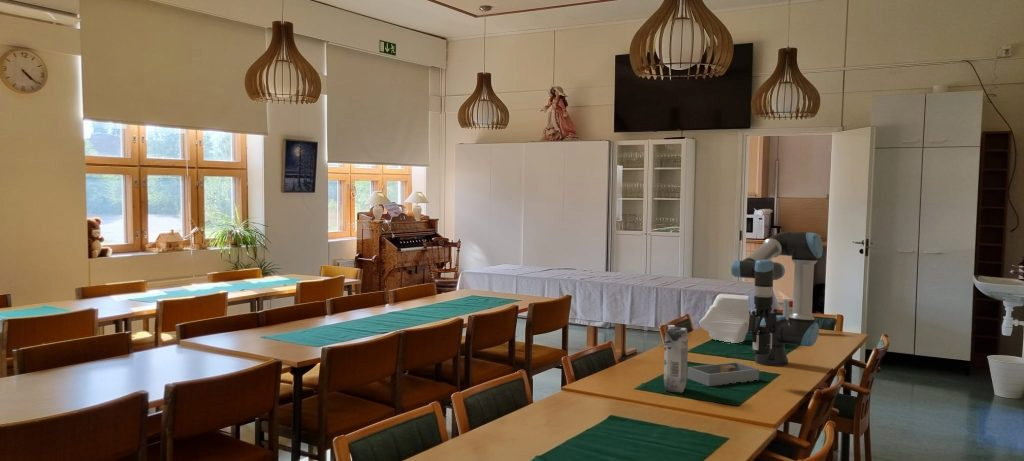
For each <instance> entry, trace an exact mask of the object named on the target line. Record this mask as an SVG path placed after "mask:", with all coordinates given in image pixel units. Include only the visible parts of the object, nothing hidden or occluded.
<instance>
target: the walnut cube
mask: <svg viewBox="0 0 1024 461" xmlns="http://www.w3.org/2000/svg"><path fill="white" fill-rule="evenodd" d="M733 371H737V367H735V366H731V365H723V366H720V373H724V372H733Z"/></svg>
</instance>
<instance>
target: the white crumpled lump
mask: <svg viewBox="0 0 1024 461" xmlns="http://www.w3.org/2000/svg"><path fill="white" fill-rule="evenodd" d="M749 299H750V296H749V295H742V294H741V295H740V294H731V293H730V294H729V293H719V294H718V295H716V297H715V298H714V300H713V303H712V305H710V306H709V308H708V310H707V311H706V313H705V315H704V316H703V317H702V318H701V319H700V320H699V321H698V324H699V326H700V327H701V328H702V329H703V330H704V331H707V332H708V334H709V338H711V339H713V340H714V341H716V340H719V341H724V342H731V343H739V342H743V341H745V339H746V336H747V333H748V326H749V317H750V315H749V310H751V308H750V302H749ZM724 342H723V343H724ZM743 343H744V342H743Z"/></svg>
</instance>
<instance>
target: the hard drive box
mask: <svg viewBox="0 0 1024 461" xmlns="http://www.w3.org/2000/svg"><path fill="white" fill-rule="evenodd" d="M782 302H783V303H782V316H785V317H786V319H787V320H789V316H790V315H791V314H792V310H793V298H788V299H787V298H783V301H782Z"/></svg>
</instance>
